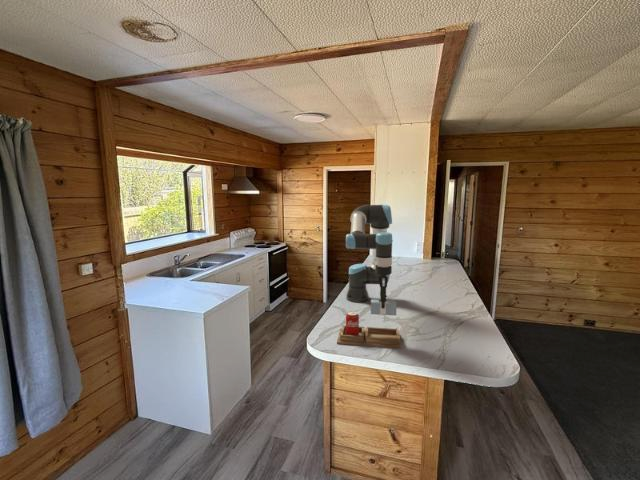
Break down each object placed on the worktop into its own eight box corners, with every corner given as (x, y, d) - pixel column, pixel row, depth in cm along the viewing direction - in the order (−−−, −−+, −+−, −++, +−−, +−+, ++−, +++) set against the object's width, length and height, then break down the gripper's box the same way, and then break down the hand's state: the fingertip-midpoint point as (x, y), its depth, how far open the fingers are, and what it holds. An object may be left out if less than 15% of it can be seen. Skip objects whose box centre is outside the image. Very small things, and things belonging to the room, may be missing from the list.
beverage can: (349, 339, 153) (349, 316, 151) (343, 334, 159) (343, 311, 157) (361, 337, 155) (361, 314, 153) (354, 331, 161) (354, 309, 159)
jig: (340, 330, 165) (340, 324, 164) (398, 334, 160) (399, 327, 159) (336, 343, 152) (336, 336, 151) (400, 348, 146) (401, 341, 146)
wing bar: (370, 311, 155) (371, 299, 154) (395, 312, 153) (396, 300, 152) (370, 314, 151) (370, 302, 150) (396, 315, 149) (396, 303, 148)
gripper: (375, 261, 157) (374, 305, 161) (375, 269, 141) (374, 318, 144) (390, 261, 156) (389, 306, 160) (392, 270, 139) (391, 319, 143)
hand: (382, 312), depth 152 cm, fingers closed on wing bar, 4 cm apart
